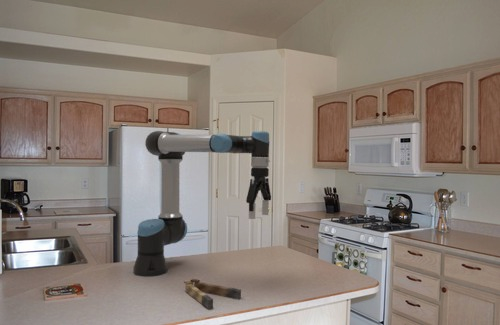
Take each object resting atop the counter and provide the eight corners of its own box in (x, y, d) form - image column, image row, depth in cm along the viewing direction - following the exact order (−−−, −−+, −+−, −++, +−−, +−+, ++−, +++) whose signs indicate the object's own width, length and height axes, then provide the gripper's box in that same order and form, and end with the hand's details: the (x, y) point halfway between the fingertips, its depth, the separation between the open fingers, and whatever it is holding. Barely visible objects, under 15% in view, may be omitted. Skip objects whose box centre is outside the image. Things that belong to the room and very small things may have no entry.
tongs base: (184, 290, 157) (184, 280, 157) (189, 287, 161) (189, 277, 161) (236, 300, 147) (236, 290, 147) (240, 297, 150) (241, 287, 150)
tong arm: (183, 290, 157) (184, 280, 157) (188, 289, 158) (188, 280, 158) (207, 308, 138) (207, 298, 138) (212, 307, 139) (213, 297, 139)
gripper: (255, 168, 158) (254, 221, 158) (279, 167, 180) (277, 214, 181) (238, 167, 161) (237, 219, 162) (263, 166, 184) (262, 212, 184)
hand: (258, 216), depth 171 cm, fingers open, 13 cm apart
